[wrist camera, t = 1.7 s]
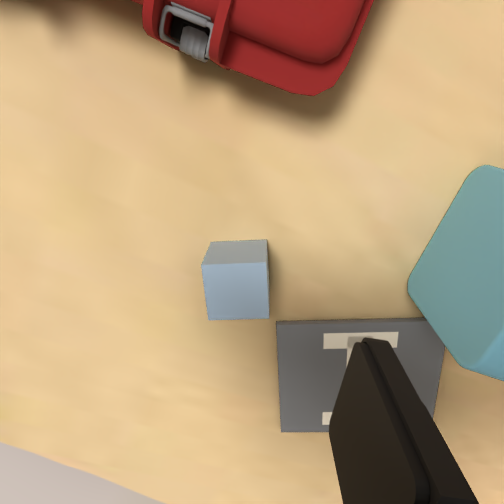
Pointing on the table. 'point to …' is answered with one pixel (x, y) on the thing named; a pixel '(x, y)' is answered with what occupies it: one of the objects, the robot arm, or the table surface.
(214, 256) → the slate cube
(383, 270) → the table surface
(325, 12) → the first aid kit
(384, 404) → the robot arm
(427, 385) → the letter mat
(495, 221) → the data package
